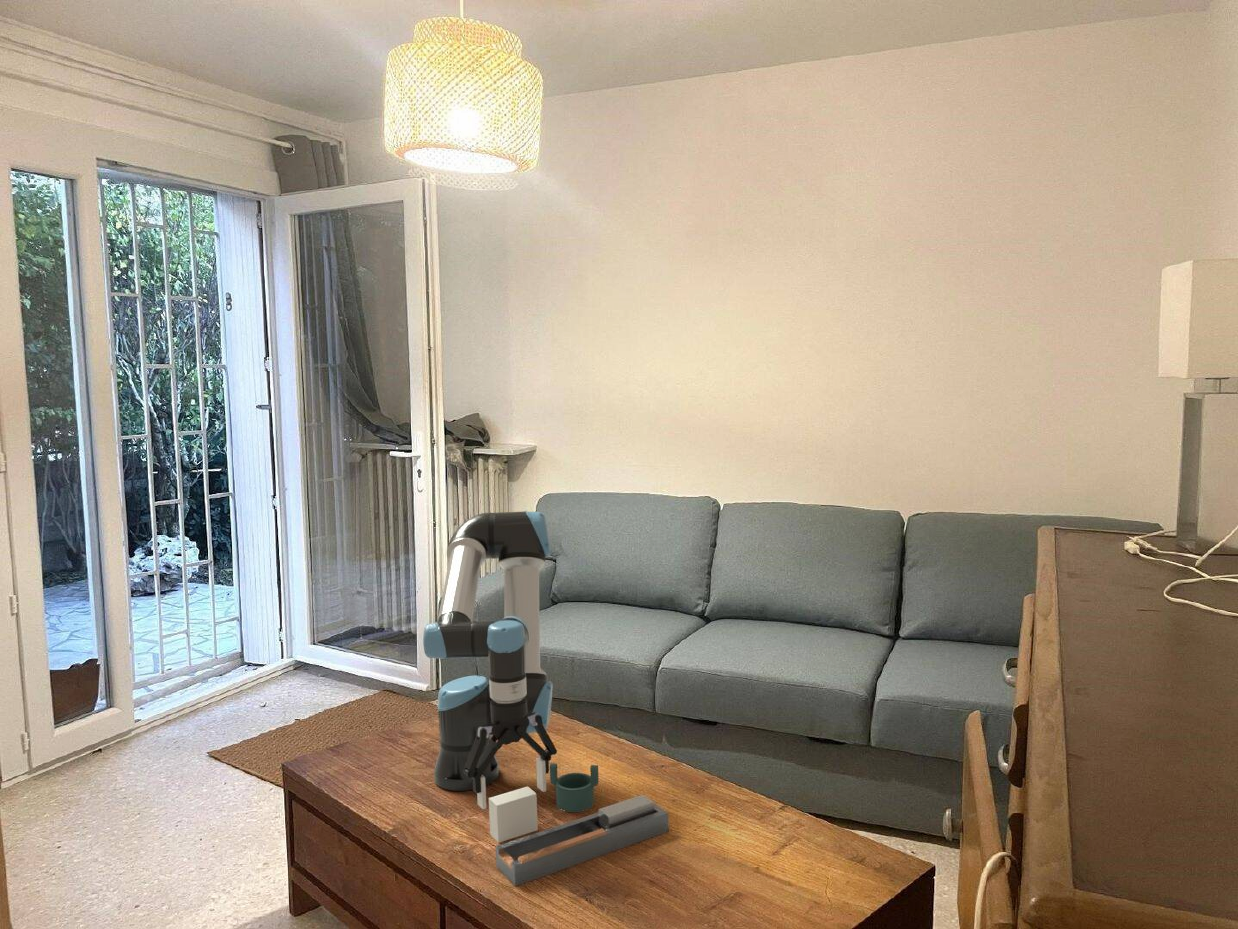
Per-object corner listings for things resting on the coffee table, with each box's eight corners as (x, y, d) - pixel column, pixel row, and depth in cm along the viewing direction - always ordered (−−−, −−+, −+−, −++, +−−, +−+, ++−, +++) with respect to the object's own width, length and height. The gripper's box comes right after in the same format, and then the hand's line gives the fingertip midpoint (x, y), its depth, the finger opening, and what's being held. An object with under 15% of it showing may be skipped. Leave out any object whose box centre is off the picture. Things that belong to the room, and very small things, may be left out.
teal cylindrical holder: (602, 805, 198) (601, 766, 197) (565, 816, 193) (563, 776, 192) (583, 790, 206) (581, 752, 205) (546, 800, 201) (545, 761, 200)
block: (490, 835, 187) (488, 798, 186) (529, 822, 191) (527, 786, 190) (498, 843, 183) (496, 805, 182) (537, 830, 188) (536, 793, 187)
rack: (496, 866, 175) (495, 836, 174) (645, 814, 193) (645, 788, 192) (515, 886, 167) (514, 856, 167) (668, 831, 186) (668, 803, 185)
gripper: (458, 716, 174) (463, 821, 176) (570, 690, 188) (573, 788, 189) (444, 705, 181) (448, 807, 183) (553, 681, 194) (557, 776, 196)
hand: (512, 798), depth 186 cm, fingers open, 13 cm apart
